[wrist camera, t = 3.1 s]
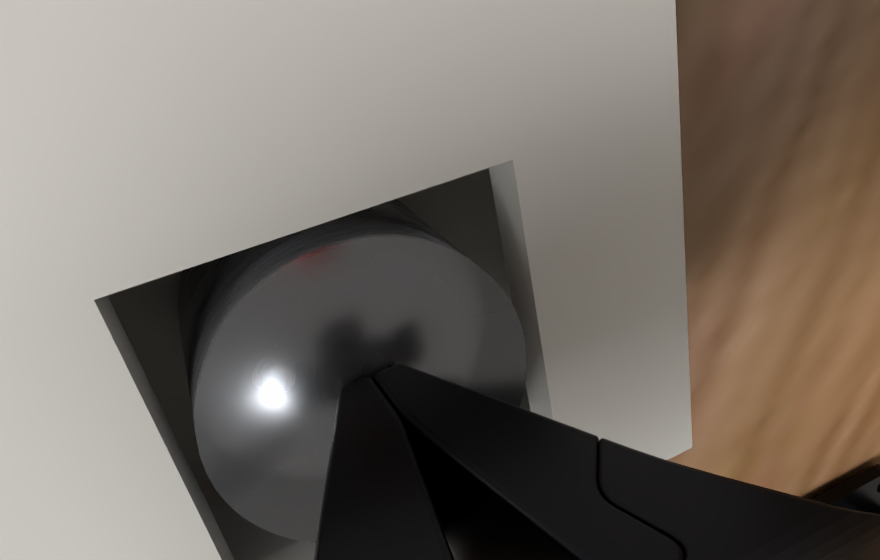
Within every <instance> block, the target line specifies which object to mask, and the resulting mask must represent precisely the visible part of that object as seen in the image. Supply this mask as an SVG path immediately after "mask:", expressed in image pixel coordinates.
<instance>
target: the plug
mask: <svg viewBox="0 0 880 560" xmlns="http://www.w3.org/2000/svg"><path fill="white" fill-rule="evenodd" d="M178 319H179V325H180V332H181V339H182V346H183V352H184V359H185V366H186V373H187V380H188V386H189V393H190V400H191V407H192V413H193V420H194V427H195V434H196V439H197V445H198V450H199V455H200V458H201V460H202V463H203V466H204V469H205V471H206V474H207V475H208V477H209V479H210V481H211V482H212V484H213V486H214V488H215V489H216V491H217V492H218V493H219V494H220V495H221V497H222V498H223V499H224V500H225V502H226V503H227V504H228V505H229V506H230V507H231V508H233V509H234V510H235V511H236V512H237V513H238V514H240V515H241V516H242V517H243V518H245V519H246V520H248V521H250V522H251V523H253V524H255V525H256V526H258V527H260V528H262V529H264V530H267V531H269V532H271V533H273V534H276V535H279V536H283V537H286V538H290V539H293V540H299V541H306V542H313V543H316V540H317V533H318V527H319V521H320V514H321V508H322V501H323V495H324V488H325V482H326V475H327V469H328V462H329V456H330V449H331V443H332V436H333V430H334V424H335V417H336V411H337V404H338V398H339V392H340V389H341V388H342V386H344V385H347V384H349V383H352V382H354V381H357V380H359V379H362V378H364V377H370V378H371V379H372V378H373V375H374V374H375V373H377V372H379V371H382V370H384V369H387V368H389V367H392V366H394V365H397V364H404V365H407V366H410V367H412V368H415V369H418V370H420V371H423V372H426V373H428V374H431V375H434V376H437V377H439V378H442V379H445V380H447V381H450V382H453V383H455V384H458V385H461V386H464V387H466V388H469V389H472V390H474V391H477V392H480V393H483V394H485V395H488V396H491V397H493V398H496V399H499V400H501V401H504V402H507V403H510V404H512V405H515V406H518V407H520V404H521V401H522V397H523V393H524V387H525V381H526V371H527V354H526V343H525V338H524V334H523V330H522V326H521V323H520V320H519V318H518V315H517V313H516V311H515V308H514V306H513V305H512V303H511V302H510V300H509V298H508V297H507V295H506V293H505V292H504V291H503V290H502V288H501V287H500V286H499V285H498V284H497V283H496V281H495V280H494V279H493V278H492V277H491V276H489V275H488V274H487V273H486V272H485V271H484V270H482V269H481V268H480V267H479V266H478V265H476V264H475V263H474V262H473V261H472V260H470V259H469V258H468V257H467V256H466V255H464V254H463V253H462V252H461V251H460V250H458V249H457V248H456V247H455V246H453V245H452V244H451V243H450V242H449V241H447V240H446V239H445V238H444V237H443V236H441V235H440V234H439V233H438V232H437V231H435V230H434V229H433V228H432V227H430V226H429V225H428V224H427V223H426V222H424V221H423V220H422V219H421V218H420V217H418V216H417V215H416V214H415V213H414V212H412V211H411V210H410V209H409V208H408V207H406V206H405V205H404V204H403V203H401V202H400V201H399V200H398V199H394V200H391V201H388V202H385V203H382V204H379V205H376V206H373V207H370V208H367V209H364V210H361V211H358V212H355V213H352V214H349V215H346V216H343V217H340V218H337V219H334V220H331V221H328V222H325V223H322V224H319V225H316V226H313V227H310V228H307V229H304V230H301V231H298V232H295V233H292V234H289V235H286V236H283V237H280V238H277V239H274V240H271V241H268V242H266V243H263V244H260V245H257V246H254V247H251V248H248V249H245V250H242V251H239V252H236V253H233V254H230V255H227V256H224V257H221V258H218V259H215V260H212V261H209V262H206V263H203V264H200V265H197V266H194V267H191V268H188V269H185V270H183V272H182V275H181V279H180V283H179V291H178Z"/></svg>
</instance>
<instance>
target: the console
mask: <svg viewBox="0 0 880 560" xmlns="http://www.w3.org/2000/svg"><path fill="white" fill-rule="evenodd" d="M394 199H398V200H399V201H400V202H401V203H403V204H404V205H405V206H406V207H408V208H409V209H410V210H411V211H412V212H414V213H415V214H416V215H417V216H418V217H420V218H421V219H422V220H423V221H424V222H426V223H427V224H428V225H429V226H430V227H432V228H433V229H434V230H435V231H437V232H438V233H439V234H440V235H441V236H443V237H444V238H445V239H446V240H447V241H449V242H450V243H451V244H452V245H453V246H455V247H456V248H457V249H458V250H460V251H461V252H462V253H463V254H464V255H466V256H467V257H468V258H469V259H470V260H472V261H473V262H474V263H475V264H476V265H478V266H479V267H480V268H481V269H482V270H484V271H485V272H486V273H487V274H488V275H489V276H491V277H492V278H493V279H494V280H495V281H496V283H497V284H498V285H499V286H500V287H501V288H502V290H503V291H504V292H505V293H506V295H507V297H508V298H509V300H510V302H511V303H512V305H513V306H514V308H515V311H516V313H517V315H518V318H519V320H520V323H521V326H522V330H523V334H524V338H525V343H526V354H527V371H526V381H525V387H524V393H523V397H522V401H521V404H520V408H523V409H526V410H528V411H531V412H534V413H537V414H539V415H542V416H545V417H547V418H550V419H553V420H555V421H558V422H561V423H564V424H566V425H569V426H572V427H574V428H577V429H580V430H583V431H585V432H588V433H591V434H593V435H596V436H598V438H599V440H600V439H601V438H605V439H608V440H610V441H613V442H616V443H618V444H621V445H624V446H626V447H629V448H632V449H635V450H638V451H641V452H644V453H647V454H650V455H653V456H656V457H659V458H662V459H664V460H668V459H670V458H672V457H674V456H676V455H678V454H680V453H682V452H684V451H686V450H688V449H691V448H692V426H691V399H690V373H689V347H688V320H687V294H686V268H685V241H684V215H683V188H682V162H681V136H680V109H679V83H678V57H677V30H676V4H675V0H0V560H313V559H314V553H315V546H316V543H313V542H306V541H299V540H293V539H290V538H286V537H283V536H279V535H276V534H273V533H271V532H269V531H267V530H264V529H262V528H260V527H258V526H256V525H255V524H253V523H251V522H250V521H248V520H246V519H245V518H243V517H242V516H241V515H240V514H238V513H237V512H236V511H235V510H234V509H233V508H231V507H230V506H229V505H228V504H227V503H226V502H225V500H224V499H223V498H222V497H221V495H220V494H219V493H218V492H217V491H216V489H215V488H214V486H213V484H212V482H211V481H210V479H209V477H208V475H207V474H206V471H205V469H204V466H203V463H202V460H201V458H200V455H199V450H198V445H197V439H196V434H195V427H194V420H193V413H192V407H191V400H190V393H189V386H188V380H187V373H186V366H185V359H184V352H183V346H182V339H181V332H180V325H179V319H178V291H179V283H180V279H181V275H182V272H183V270H185V269H188V268H191V267H194V266H197V265H200V264H203V263H206V262H209V261H212V260H215V259H218V258H221V257H224V256H227V255H230V254H233V253H236V252H239V251H242V250H245V249H248V248H251V247H254V246H257V245H260V244H263V243H266V242H268V241H271V240H274V239H277V238H280V237H283V236H286V235H289V234H292V233H295V232H298V231H301V230H304V229H307V228H310V227H313V226H316V225H319V224H322V223H325V222H328V221H331V220H334V219H337V218H340V217H343V216H346V215H349V214H352V213H355V212H358V211H361V210H364V209H367V208H370V207H373V206H376V205H379V204H382V203H385V202H388V201H391V200H394Z"/></svg>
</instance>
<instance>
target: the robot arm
mask: <svg viewBox="0 0 880 560" xmlns="http://www.w3.org/2000/svg"><path fill="white" fill-rule="evenodd" d="M313 560H880V465H878V464H877V465H874V466H872V467H870V468H868V469H866V470H864V471H863V472H861V473H859V474H857V475H855V476H853V477H852V478H850V479H848V480H846V481H844V482H842V483H840V484H839V485H837V486H835V487H833V488H831V489H829V490H828V491H826V492H824V493H822V494H820V495H818V496H817V497H815V498H813V499H811V500H810V499H806V498H802V497H798V496H795V495H791V494H787V493H783V492H779V491H776V490H772V489H768V488H764V487H761V486H757V485H753V484H749V483H745V482H742V481H738V480H734V479H730V478H727V477H723V476H719V475H715V474H712V473H709V472H705V471H702V470H698V469H695V468H691V467H688V466H684V465H681V464H677V463H674V462H670V461H667V460H664V459H662V458H659V457H656V456H653V455H650V454H647V453H644V452H641V451H638V450H635V449H632V448H629V447H626V446H624V445H621V444H618V443H616V442H613V441H610V440H608V439H605V438H601V439H600V440H599V438H598V436H596V435H593V434H591V433H588V432H585V431H583V430H580V429H577V428H574V427H572V426H569V425H566V424H564V423H561V422H558V421H555V420H553V419H550V418H547V417H545V416H542V415H539V414H537V413H534V412H531V411H528V410H526V409H523V408H520V407H518V406H515V405H512V404H510V403H507V402H504V401H501V400H499V399H496V398H493V397H491V396H488V395H485V394H483V393H480V392H477V391H474V390H472V389H469V388H466V387H464V386H461V385H458V384H455V383H453V382H450V381H447V380H445V379H442V378H439V377H437V376H434V375H431V374H428V373H426V372H423V371H420V370H418V369H415V368H412V367H410V366H407V365H404V364H397V365H394V366H392V367H389V368H387V369H384V370H382V371H379V372H377V373H375V374H374V375H373V378H372V379H371V378H370V377H364V378H362V379H359V380H357V381H354V382H352V383H349V384H347V385H344V386H342V388H341V389H340V392H339V398H338V404H337V411H336V417H335V424H334V430H333V436H332V443H331V449H330V456H329V462H328V469H327V475H326V482H325V488H324V495H323V501H322V508H321V514H320V521H319V527H318V533H317V540H316V546H315V553H314V559H313Z"/></svg>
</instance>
